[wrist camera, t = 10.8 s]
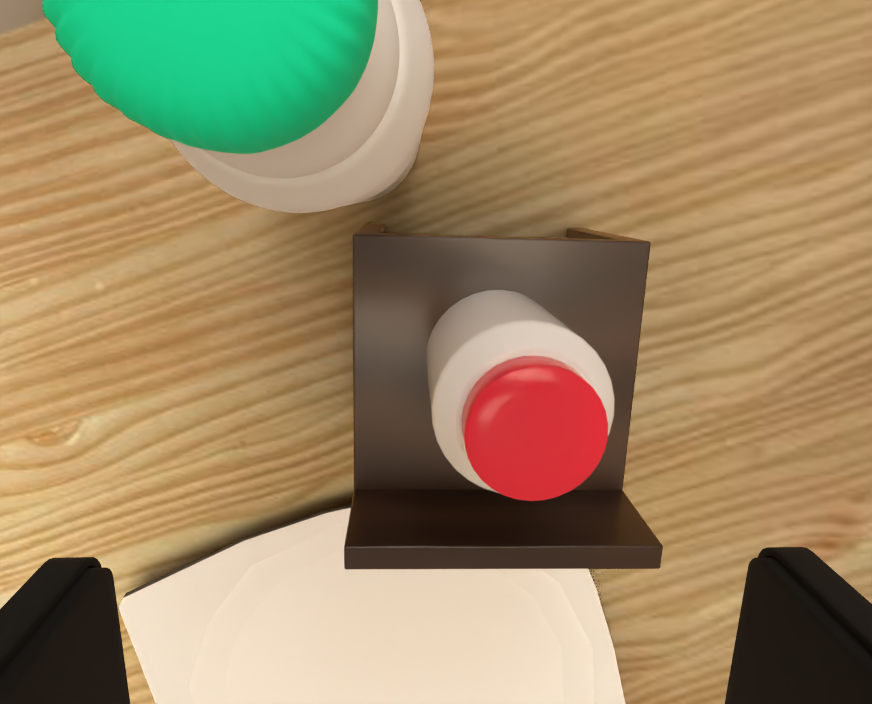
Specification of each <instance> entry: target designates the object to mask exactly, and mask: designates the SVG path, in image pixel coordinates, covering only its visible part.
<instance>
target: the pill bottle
mask: <svg viewBox="0 0 872 704" xmlns="http://www.w3.org/2000/svg"><path fill="white" fill-rule="evenodd" d="M425 360H426V375H427V384H428V392H429V401H430V409H431V418H432V424H433V428H434V432H435V436H436V440H437V442H438V444H439V446H440V448H441V450H442V452H443V454H444V456H445V457H446V459H447V460H448V461H449V462H450V464H451V465H452V466H453V467H454V469H455V470H457V471H458V472H459V473H460V474H461V475H463V476H464V477H465V478H466V479H467V480H469V481H471V482H472V483H474V484H476V485H478V486H480V487H482V488H484V489H487V490H490V491H493V492H496V493H500V494H502V495H504V496H508V497H511V498H514V499H518V500H526V501H538V500H546V499H551V498H555V497H558V496H560V495H563V494H565V493H567V492H569V491H571V490H573V489H574V488H576V487H577V486H579V485H580V484H581V483H582V482H584V481H585V480H586V479H587V478H588V477H589V476H590V475H591V474H592V472H593V471H594V469H595V468H596V467H597V465H598V464H599V462H600V460H601V458H602V456H603V453H604V451H605V448H606V443H607V439H608V435H609V433H610V430H611V426H612V422H613V418H614V401H615V398H614V392H613V387H612V381H611V378H610V376H609V373H608V371H607V368H606V366H605V364H604V363H603V361H602V360H601V358H600V357H599V355H598V354H597V352H596V351H595V350H594V349H593V348H592V347H591V346H590V345H589V344H588V343H587V342H586V341H585V340H584V339H583V338H582V337H580V336H579V335H578V334H577V333H576V332H574V331H573V330H572V329H571V328H569V327H568V326H567V325H566V324H565V323H563V322H562V321H561V320H560V319H558V318H557V317H556V316H555V315H554V314H552V313H551V312H550V311H549V310H547V309H546V308H545V307H544V306H543V305H541V304H540V303H538V302H537V301H535V300H533V299H532V298H530V297H528V296H526V295H523V294H520V293H518V292H514V291H507V290H487V291H483V292H479V293H475V294H472V295H470V296H468V297H466V298H464V299H461V300H460V301H458V302H457V303H456V304H454V305H453V306H452V307H450V308H449V309H448V310H447V311H446V312H445V313H444V314H443V315H442V316H441V318H440V319H439V320H438V322H437V324H436V325H435V327H434V328H433V330H432V333H431V335H430V338H429V341H428V343H427V350H426V356H425Z"/></svg>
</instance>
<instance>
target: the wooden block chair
mask: <svg viewBox="0 0 872 704" xmlns="http://www.w3.org/2000/svg"><path fill="white" fill-rule="evenodd" d="M649 252H650V242H648V241H643V240H639V239H634V238H629V237H624V236H619V235H614V234H609V233H604V232H599V231H594V230H589V229H580V228H568V229H567V238H541V237H502V236H463V235H425V234H386V224H385V223H367V224H366V225H365V226H363V227H362V228H361V229H360V230H358V231H357V232H356V233H355V234H353V383H354V493H353V499H352V504H351V510H350V516H349V522H348V527H347V533H346V539H345V544H344V568H345V569H655V568H660V563H661V556H662V548H663V546H662V544H661V543H660V542H659V540H658V539H657V538H656V536H655V535H654V533H653V532H652V531H651V529H650V528H649V527H648V525H647V524H646V522H645V521H644V520H643V518H642V517H641V516H640V514H639V513H638V511H637V510H636V509H635V507H634V506H633V504H632V503H631V502H630V500H629V499H628V498H627V496H626V495H625V493H624V492H623V491H622V488H623V479H624V471H625V462H626V453H627V444H628V436H629V427H630V418H631V409H632V401H633V392H634V383H635V374H636V366H637V357H638V348H639V339H640V330H641V322H642V313H643V304H644V295H645V287H646V278H647V269H648V260H649ZM487 290H507V291H514V292H518V293H520V294H523V295H526V296H528V297H530V298H532V299H533V300H535V301H537V302H538V303H540V304H541V305H543V306H544V307H545V308H546V309H547V310H549V311H550V312H551V313H552V314H554V315H555V316H556V317H557V318H558V319H560V320H561V321H562V322H563V323H565V324H566V325H567V326H568V327H569V328H571V329H572V330H573V331H574V332H576V333H577V334H578V335H579V336H580V337H582V338H583V339H584V340H585V341H586V342H587V343H588V344H589V345H590V346H591V347H592V348H593V349H594V350H595V351H596V352H597V354H598V355H599V357H600V358H601V360H602V361H603V363H604V364H605V366H606V368H607V371H608V373H609V376H610V378H611V381H612V387H613V392H614V398H615V401H614V418H613V422H612V426H611V430H610V433H609V435H608V439H607V443H606V448H605V451H604V453H603V456H602V458H601V460H600V462H599V464H598V465H597V467H596V468H595V469H594V471H593V472H592V474H591V475H590V476H589V477H588V478H587V479H586V480H585V481H584V482H582V483H581V484H580V485H579V486H577V487H576V488H574V489H573V490H571V491H569V492H567V493H565V494H563V495H560V496H558V497H555V498H551V499H546V500H538V501H526V500H518V499H514V498H511V497H508V496H504V495H502V494H500V493H496V492H493V491H490V490H487V489H484V488H482V487H480V486H478V485H476V484H474V483H472V482H471V481H469V480H467V479H466V478H465V477H464V476H463V475H461V474H460V473H459V472H458V471H457V470H455V469H454V467H453V466H452V465H451V464H450V462H449V461H448V460H447V459H446V457H445V456H444V454H443V452H442V450H441V448H440V446H439V444H438V442H437V440H436V436H435V432H434V428H433V424H432V418H431V409H430V401H429V392H428V384H427V375H426V360H425V356H426V350H427V343H428V341H429V338H430V335H431V333H432V330H433V328H434V327H435V325H436V324H437V322H438V320H439V319H440V318H441V316H442V315H443V314H444V313H445V312H446V311H447V310H448V309H449V308H450V307H452V306H453V305H454V304H456V303H457V302H458V301H460V300H461V299H464V298H466V297H468V296H470V295H472V294H475V293H479V292H483V291H487Z"/></svg>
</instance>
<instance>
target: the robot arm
mask: <svg viewBox="0 0 872 704" xmlns="http://www.w3.org/2000/svg"><path fill="white" fill-rule="evenodd" d="M0 704H130V699H129V692H128V684H127V677H126V669H125V662H124V654H123V647H122V639H121V632H120V624H119V617H118V609H117V602H116V594H115V587H114V579H113V575H112V572H111V570H110V569H109V568H101V564H100V562H99V561H98V559H96V558H94V557H81V558H52V559H49V560H48V561H46V562H45V563H44V564H43V565H42V566H41V567H40V568H39V569H38V570H37V571H36V572H35V573H34V574H33V575H32V576H31V577H30V579H29V580H28V581H27V582H26V583H25V584H24V585H23V586H22V587H21V588H20V589H19V590H18V591H17V592H16V593H15V594H14V595H13V596H12V597H11V599H10V600H9V601H8V602H7V603H6V604H5V605H4V606H3V607H2V608H1V609H0ZM725 704H872V604H871V603H870V602H869V601H867V600H866V599H865V598H864V597H863V596H862V595H861V594H860V593H858V592H857V591H856V590H855V589H854V588H853V587H852V586H851V585H849V584H848V583H847V582H846V581H845V580H844V579H843V578H842V577H840V576H839V575H838V574H837V573H836V572H835V571H834V570H832V569H831V568H830V567H829V566H828V565H827V564H826V563H825V562H823V561H822V560H821V559H820V558H819V557H818V556H817V555H816V554H814V553H813V552H812V551H810V550H809V549H807V548H803V547H773V548H765V549H763V550H762V551H761V552H760V554H759V556H758V558H754V559H752V560H751V561H750V563H749V566H748V571H747V577H746V583H745V589H744V595H743V601H742V606H741V612H740V618H739V624H738V630H737V636H736V641H735V647H734V653H733V659H732V665H731V671H730V676H729V682H728V688H727V694H726V700H725Z"/></svg>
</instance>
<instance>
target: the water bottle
mask: <svg viewBox="0 0 872 704" xmlns="http://www.w3.org/2000/svg"><path fill="white" fill-rule="evenodd" d="M42 6H43V12H44V15H45V16H46V18H47V19H48V20H49V21H50V22H51V24H52V25H53V26H54V27H55V29H56V33H55V34H56V40H57V42H58V43H59V45H60V46H61V47H62V48H63V49H64V51H65V52H66V53H67V54H68V55H69V56H70V57H71V61H72V65H73V68H74V69H75V71H76V72H77V73H78V74H79V75H80V76H81V77H82V78H83V79H84V80H85V81H86V82H88V83H89V84H91V85H92V86H93V88H94V90H95V92H96V93H97V95H98V96H99V97H100V98H101V99H102V100H103V101H105V102H106V103H108V104H110V105H112V106H113V107H115V108H117V109H119V110H120V111H121V112H122V113H123V114H124V115H125V116H126V117H127V118H129V119H131V120H133V121H135V122H137V123H139V124H141V125H143V126H145V127H147V128H149V129H150V130H151V131H153V132H154V133H156V134H158V135H160V136H163V137H165V138H168V139H170V140H171V142H172V143H173V145H174V146H175V147H176V149H177V150H178V151H179V152H180V154H181V155H182V156H183V157H184V158H185V159H186V161H187V162H188V163H189V164H190V165H191V166H192V167H193V168H194V169H195V170H196V171H197V172H199V173H200V174H201V175H202V176H203V177H204V178H206V179H207V180H208V181H209V182H211V183H212V184H213V185H215V186H216V187H218V188H219V189H221V190H222V191H224V192H226V193H228V194H229V195H231V196H233V197H235V198H237V199H239V200H241V201H244V202H246V203H249V204H251V205H254V206H257V207H261V208H264V209H269V210H273V211H279V212H287V213H313V212H320V211H326V210H331V209H334V208H338V207H342V206H347V205H352V204H356V203H364V202H369V201H372V200H375V199H378V198H380V197H382V196H384V195H386V194H388V193H389V192H391V191H392V190H393V189H395V188H396V187H397V186H398V185H399V184H400V183H401V182H402V181H403V180H404V179H405V177H406V176H407V175H408V173H409V172H410V170H411V168H412V166H413V164H414V162H415V160H416V157H417V154H418V150H419V145H420V140H421V136H422V132H423V128H424V124H425V121H426V118H427V114H428V111H429V107H430V102H431V97H432V91H433V81H434V57H433V47H432V40H431V35H430V30H429V26H428V22H427V19H426V15H425V12H424V10H423V7H422V4H421V2H420V0H43V5H42Z"/></svg>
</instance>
